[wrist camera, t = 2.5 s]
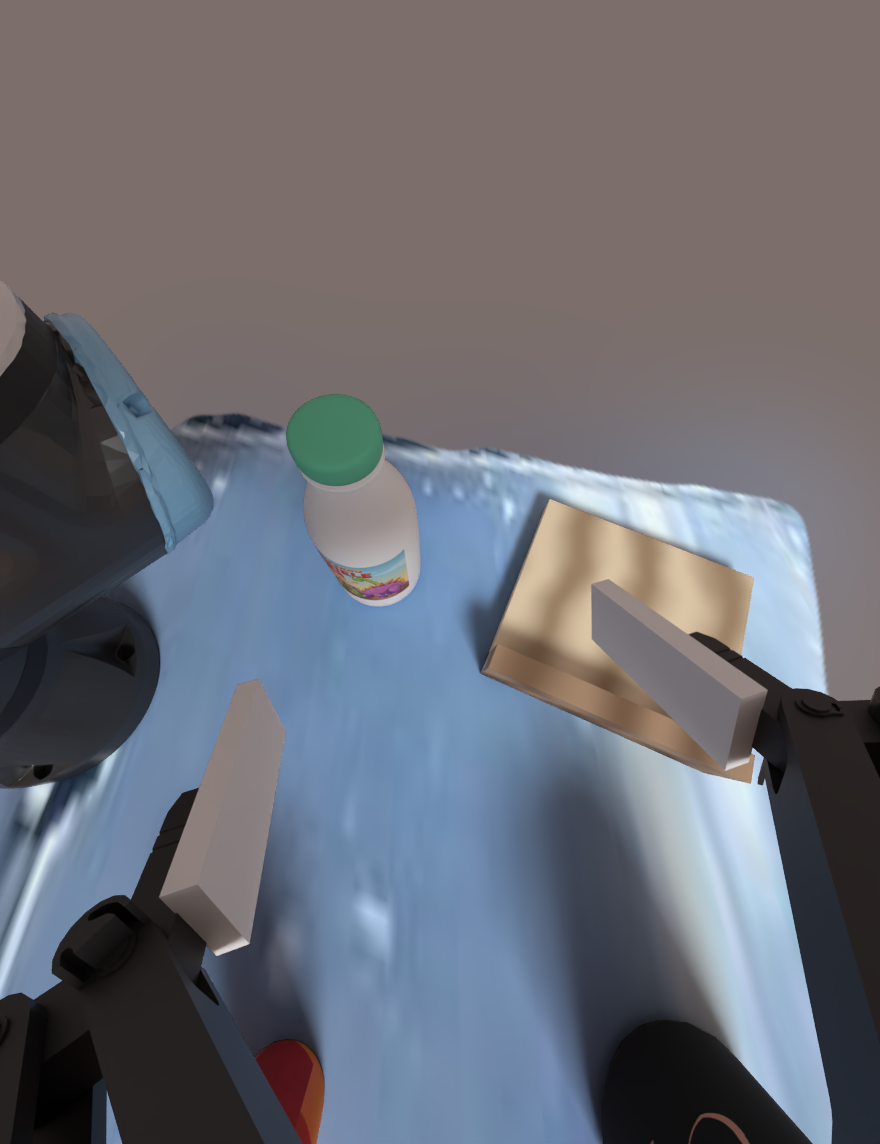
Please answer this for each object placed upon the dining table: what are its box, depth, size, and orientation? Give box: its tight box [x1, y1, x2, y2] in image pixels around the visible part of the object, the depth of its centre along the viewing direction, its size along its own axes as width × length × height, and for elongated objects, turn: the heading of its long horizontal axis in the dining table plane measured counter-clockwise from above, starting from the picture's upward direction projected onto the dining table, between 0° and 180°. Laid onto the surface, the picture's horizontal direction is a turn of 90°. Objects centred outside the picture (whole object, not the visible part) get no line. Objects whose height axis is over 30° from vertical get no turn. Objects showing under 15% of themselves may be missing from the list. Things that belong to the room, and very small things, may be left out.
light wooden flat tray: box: [481, 499, 755, 784], centre depth 34 cm, size 20×18×5 cm
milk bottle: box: [286, 394, 420, 606], centre depth 28 cm, size 8×8×20 cm
